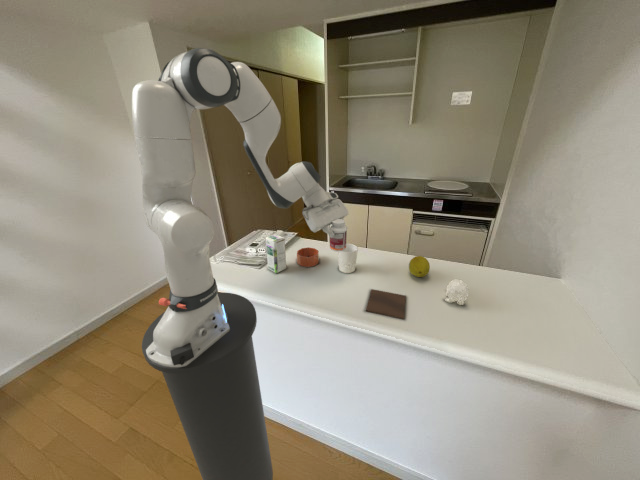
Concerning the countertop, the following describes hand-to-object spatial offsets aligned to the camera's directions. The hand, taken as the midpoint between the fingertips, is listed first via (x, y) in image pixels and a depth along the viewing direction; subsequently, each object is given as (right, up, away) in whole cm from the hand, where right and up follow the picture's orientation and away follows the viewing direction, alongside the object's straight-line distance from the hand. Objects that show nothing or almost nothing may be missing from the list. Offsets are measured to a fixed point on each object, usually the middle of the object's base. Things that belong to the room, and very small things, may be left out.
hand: (339, 233), depth 94 cm
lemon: (+32, -17, +9) cm, 37 cm away
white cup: (+4, -15, +14) cm, 21 cm away
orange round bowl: (-13, -12, +20) cm, 27 cm away
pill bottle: (-1, -6, +3) cm, 7 cm away
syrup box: (-25, -15, +15) cm, 33 cm away
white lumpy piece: (+40, -23, -4) cm, 46 cm away
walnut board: (+15, -24, -7) cm, 29 cm away
